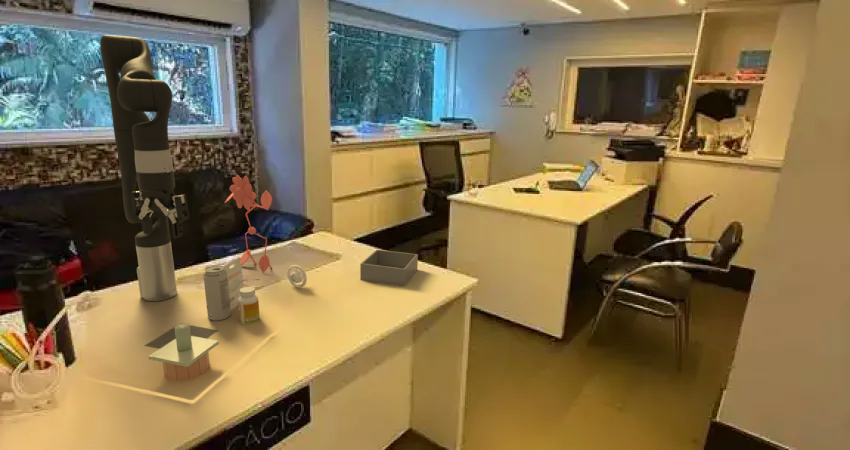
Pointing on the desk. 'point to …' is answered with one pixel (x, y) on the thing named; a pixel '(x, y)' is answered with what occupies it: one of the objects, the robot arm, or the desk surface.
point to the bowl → (186, 369)
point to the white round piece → (297, 276)
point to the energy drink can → (217, 293)
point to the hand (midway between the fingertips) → (163, 235)
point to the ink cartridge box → (234, 281)
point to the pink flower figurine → (243, 197)
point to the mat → (171, 336)
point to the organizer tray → (389, 274)
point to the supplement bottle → (248, 306)
